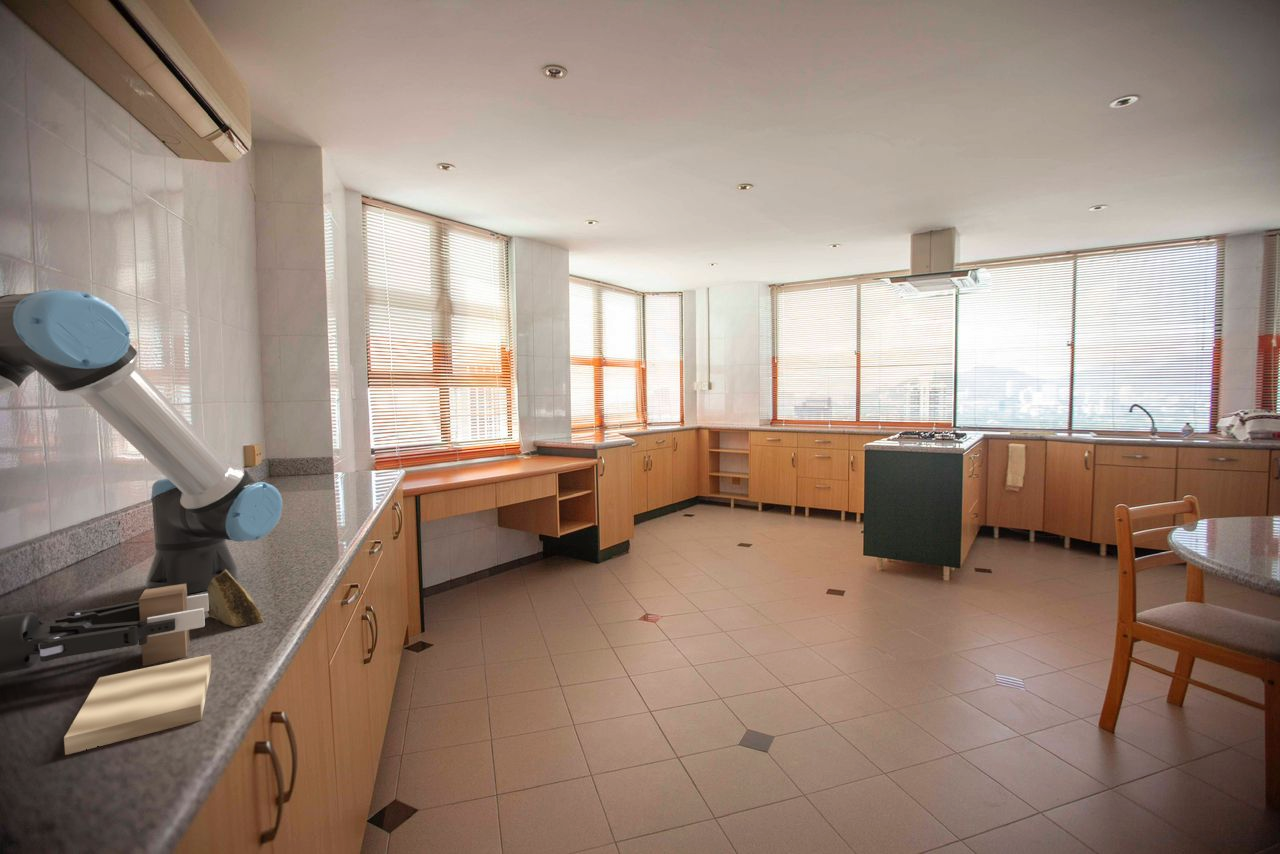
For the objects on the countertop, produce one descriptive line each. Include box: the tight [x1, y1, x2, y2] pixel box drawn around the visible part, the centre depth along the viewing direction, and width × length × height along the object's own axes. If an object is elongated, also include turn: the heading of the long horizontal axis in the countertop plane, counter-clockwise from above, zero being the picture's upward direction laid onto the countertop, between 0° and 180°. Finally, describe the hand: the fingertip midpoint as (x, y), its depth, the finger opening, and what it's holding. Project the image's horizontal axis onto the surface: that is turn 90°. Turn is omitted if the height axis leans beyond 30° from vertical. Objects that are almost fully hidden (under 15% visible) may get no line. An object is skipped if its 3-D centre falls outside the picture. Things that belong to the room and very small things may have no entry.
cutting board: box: [63, 653, 213, 756], centre depth 73 cm, size 16×12×2 cm
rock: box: [206, 569, 265, 628], centre depth 101 cm, size 11×9×10 cm
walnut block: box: [138, 584, 191, 667], centre depth 87 cm, size 5×5×10 cm
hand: (205, 609), depth 89 cm, fingers open, 7 cm apart
